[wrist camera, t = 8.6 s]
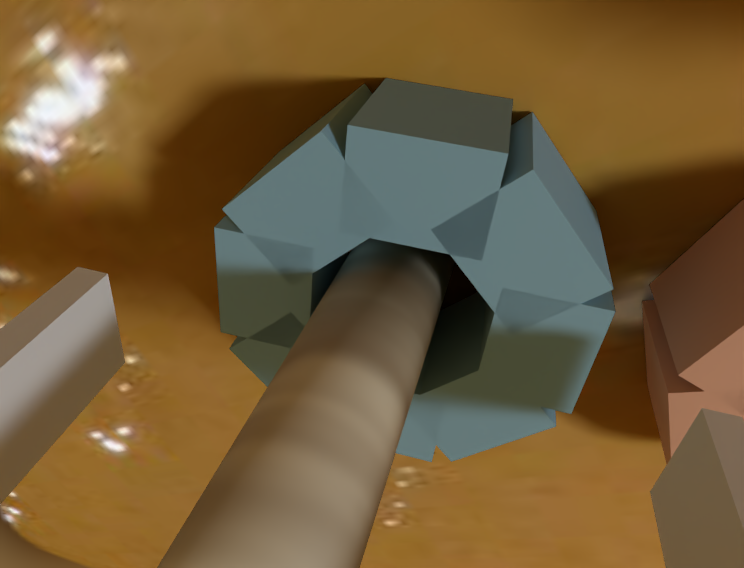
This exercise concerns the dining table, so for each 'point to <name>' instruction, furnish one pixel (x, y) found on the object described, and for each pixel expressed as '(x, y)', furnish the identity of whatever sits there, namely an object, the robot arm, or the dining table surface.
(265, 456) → the wooden dowel handle
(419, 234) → the bead
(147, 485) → the dining table surface
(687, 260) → the bead terracotta
